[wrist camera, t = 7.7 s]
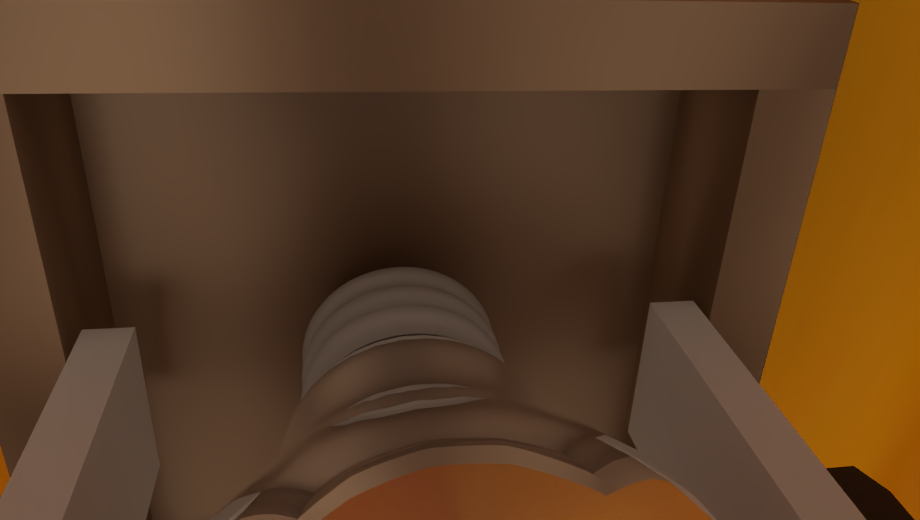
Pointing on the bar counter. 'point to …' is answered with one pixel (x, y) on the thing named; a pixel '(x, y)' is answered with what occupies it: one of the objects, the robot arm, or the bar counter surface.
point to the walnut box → (391, 190)
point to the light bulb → (438, 425)
